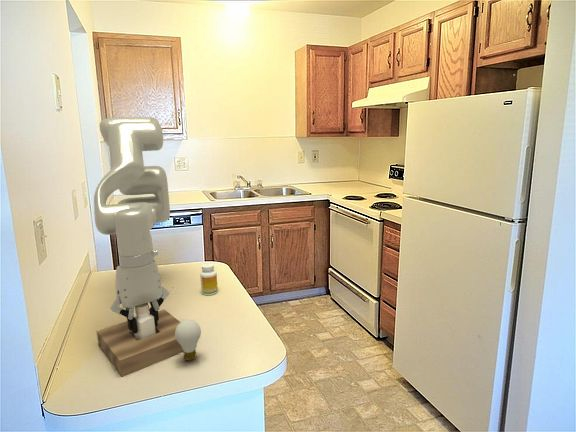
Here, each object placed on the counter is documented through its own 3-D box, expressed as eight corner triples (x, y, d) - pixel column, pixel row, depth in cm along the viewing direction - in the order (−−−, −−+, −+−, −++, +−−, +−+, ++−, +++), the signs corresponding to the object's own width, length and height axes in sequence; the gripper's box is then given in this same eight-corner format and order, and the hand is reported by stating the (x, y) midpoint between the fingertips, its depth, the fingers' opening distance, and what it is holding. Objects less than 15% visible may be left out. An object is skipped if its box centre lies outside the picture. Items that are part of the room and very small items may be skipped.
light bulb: (179, 369, 89) (175, 329, 86) (176, 356, 94) (172, 318, 92) (205, 362, 91) (202, 323, 89) (200, 350, 96) (197, 313, 94)
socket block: (98, 345, 100) (96, 331, 99) (165, 322, 111) (164, 309, 110) (121, 376, 87) (119, 360, 86) (195, 346, 98) (193, 332, 97)
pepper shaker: (147, 333, 101) (143, 300, 99) (157, 338, 99) (153, 303, 97) (134, 340, 98) (129, 305, 96) (143, 345, 96) (139, 309, 94)
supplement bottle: (220, 293, 131) (218, 265, 129) (205, 297, 128) (203, 269, 126) (213, 288, 135) (212, 261, 133) (199, 292, 132) (197, 264, 130)
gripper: (163, 248, 102) (169, 312, 106) (94, 263, 92) (104, 334, 96) (175, 254, 97) (182, 321, 101) (104, 271, 86) (114, 346, 90)
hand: (144, 327), depth 98 cm, fingers closed on pepper shaker, 4 cm apart
